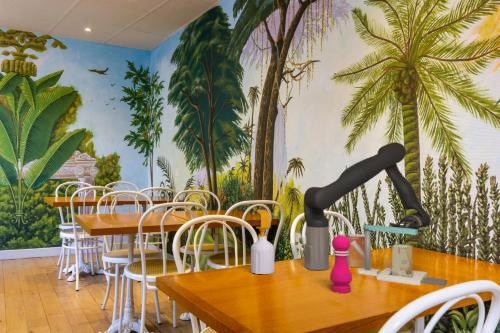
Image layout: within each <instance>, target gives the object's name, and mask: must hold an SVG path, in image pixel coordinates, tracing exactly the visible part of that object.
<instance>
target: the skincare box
mask: <svg viewBox="0 0 500 333" xmlns="http://www.w3.org/2000/svg"><path fill="white" fill-rule="evenodd" d="M391 257H392V258H391V264H392V265H391V266H392V267H391V268H392V275H393V276H401V277H409V278H412V277H413V276H412V271H413V245H411V244H410V245H409V244H405V243H404V244H403V243H402V244H393V245H392V256H391Z"/></svg>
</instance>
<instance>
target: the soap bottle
mask: <svg viewBox="0 0 500 333" xmlns="http://www.w3.org/2000/svg"><path fill="white" fill-rule="evenodd" d="M256 213H258V214H259V216H260V226H255V228H256V229H258V231H260V233H258V235H257V236H258V239H257V241H255V242H254V243H253V244H251V246H250V273H251V274H253V273H255V274H254V275H257V274H269V275H272V274H274V272H275V247H274V244H272V243H271V242H270V241H268V239H267V238H268V235H267V234H265V232H266V231H267V230H268V229H271V213H270V212H269V211H268V210H266V209H257V210H256Z"/></svg>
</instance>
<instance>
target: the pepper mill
mask: <svg viewBox="0 0 500 333" xmlns="http://www.w3.org/2000/svg"><path fill="white" fill-rule="evenodd" d="M344 234H345V232H343V230H339V231H338V235H337V236H334V237H333V238H332V241H331V246H332V248H333V249H334V250H333V255H334V264H333V267H332V269H331V271H330V275H329V280H330V281H331V283H332V284H331V291H332V292H333V291H334V292H333V293H336V292H339V293H338V294H347V293H348V294H349V293H350V292H351V288H352V286H351V285H350V283H351V282H352V281H353V275H352V271H351V270H350V267H349V266H348V262H347V255H349V254H348V252H349V251H348V248H349V247H350V241H349V239H348V236H345V235H344Z"/></svg>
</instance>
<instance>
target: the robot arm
mask: <svg viewBox="0 0 500 333" xmlns="http://www.w3.org/2000/svg"><path fill="white" fill-rule="evenodd" d="M406 151H407V150H406V147H405V145H404V144H402V143H401V142H397V141H396V142H389V143H388V144H385V145H382V146H380V148H378V150H377V153H376V154H374V155H371V156H369V157H367V158H364V159H362V160H359V161H358V162H356V163H354V164H352V165H350V166H349V167H347V168H346V169H344V170H343V171H342V172H341V174H340V175H339V177H338V178H337V179H336V180H334V181H333V182H332V183H331V182H330V183H329V184H327V185H325V186H322V187H321V186H320V187H319V186H312V187H309V188H307V189H306V190H305V193H304V195H303V213H304V214H303V215H304V219H305V220H304V221H305V224H306V225H305V227H306V228H305V229H306V230H305V232H306V233H305V235H306V236H305V237H306V238H305V240H306V241H305V242H306V243H304V248H303V249H304V252H303V253H304V258H303V259H304V263H303V264H304V268H306V269H308V270H309V271H310V270H311V271H325V270H329V269H330V259H329V258H330V251H329V250H330V247H329V246H330V220H329V218H328V217H327V216H326V215H325V210H327V209H329V208H330V207H331V206H333V205H334V204H335V203H336V202H338V201H339V200H340V199H341V198H342V197H344V196H346V195H348V194H349V193H351V192H354V191H355V190H356V189H358V188H359V187H361V186H363V185H365V184H366V183H367V182H369V181H370V180H371V179H373V178H374V177H376V176H378V175H379V174H380V173H382V172H383V171H384V172H385V173H386V174H387V176H388V178H389V179H390V182H391V183H392V185H393V187H394V190H396V193H397V196H398V197H399V200H400V203H401V205H402V208H403V209H404V210H415V211H416V212H413V213H410V214H407V215H405V216H404V217H402V218H401V219H400V220H399V221H398V223H393V222H390V223H389V227H398V228H409V229H418V233H423V232H424V228H426V227H429V226H430V225H431V223H432V222H431V221H432V220H431V217H430V214H429V213H428V212H427V211H426V210H425V208H424V207H423V206H422V204H421V203H420V200H419V198H418V197H417V194H416V191H415V189H414V188H413V186H412V184H411V183H410V182H409V181H408V179H406V177H405V176H404V174H402V172H401V171H400V169H399V167H398V163H400V162H402V161H403V160H404V159H405V157H406V154H407V152H406ZM404 235H405V236H412V235H411V234H404Z"/></svg>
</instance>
